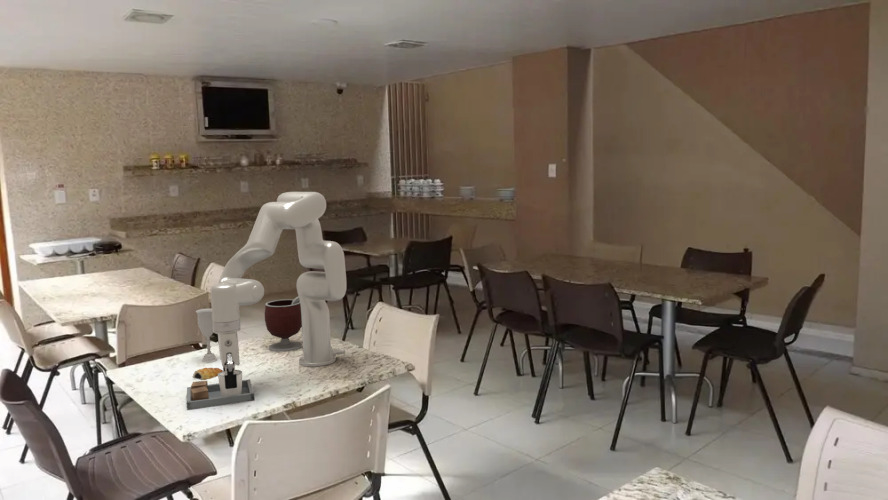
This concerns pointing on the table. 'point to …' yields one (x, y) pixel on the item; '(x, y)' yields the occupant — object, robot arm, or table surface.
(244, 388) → the tray
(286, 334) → the mate gourd
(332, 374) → the table surface
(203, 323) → the chalice
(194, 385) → the walnut block
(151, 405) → the table surface
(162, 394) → the table surface
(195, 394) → the walnut block
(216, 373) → the pastry
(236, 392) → the shot glass
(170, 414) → the table surface
